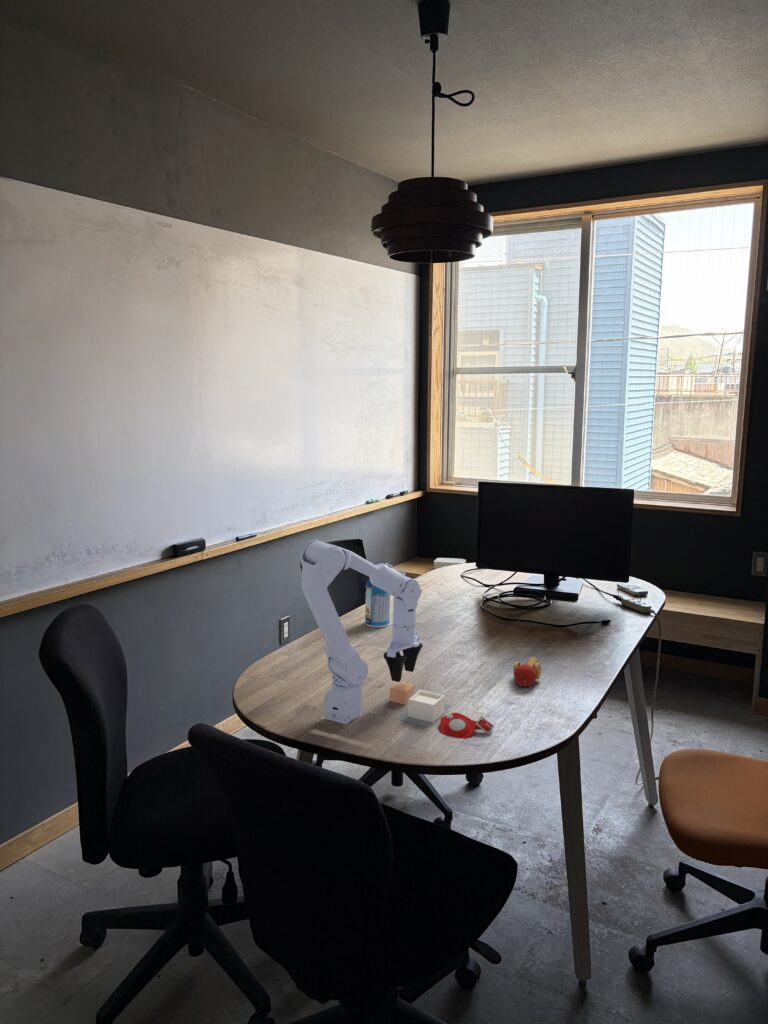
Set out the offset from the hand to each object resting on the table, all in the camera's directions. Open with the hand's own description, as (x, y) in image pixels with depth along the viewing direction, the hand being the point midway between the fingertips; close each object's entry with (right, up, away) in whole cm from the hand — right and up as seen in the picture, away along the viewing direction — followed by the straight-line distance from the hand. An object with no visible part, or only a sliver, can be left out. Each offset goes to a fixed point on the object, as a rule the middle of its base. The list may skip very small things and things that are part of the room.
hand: (402, 675), depth 191 cm
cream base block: (+5, -8, -7) cm, 12 cm away
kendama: (+35, -5, +20) cm, 41 cm away
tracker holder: (+14, -11, -15) cm, 23 cm away
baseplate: (+5, -8, -6) cm, 11 cm away
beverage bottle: (-7, +3, +63) cm, 64 cm away
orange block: (0, -7, +1) cm, 7 cm away
